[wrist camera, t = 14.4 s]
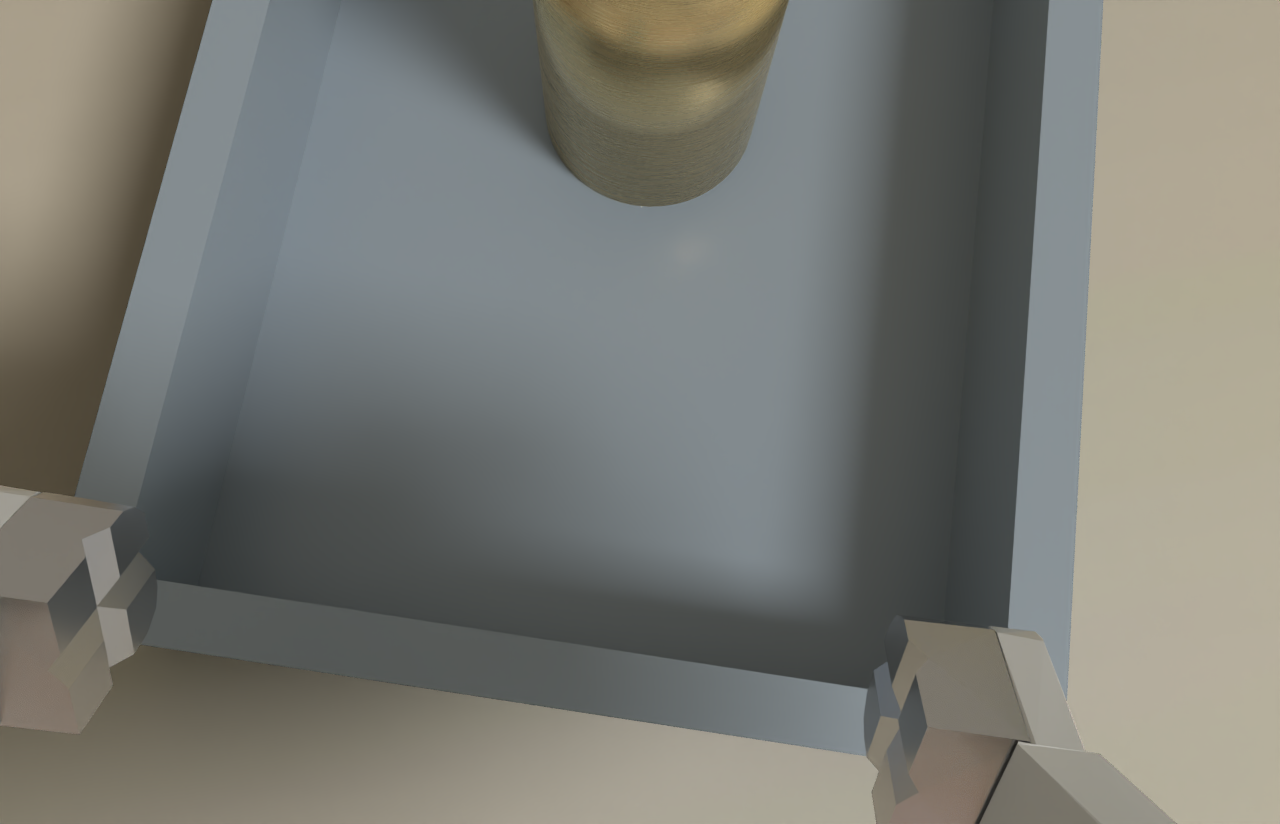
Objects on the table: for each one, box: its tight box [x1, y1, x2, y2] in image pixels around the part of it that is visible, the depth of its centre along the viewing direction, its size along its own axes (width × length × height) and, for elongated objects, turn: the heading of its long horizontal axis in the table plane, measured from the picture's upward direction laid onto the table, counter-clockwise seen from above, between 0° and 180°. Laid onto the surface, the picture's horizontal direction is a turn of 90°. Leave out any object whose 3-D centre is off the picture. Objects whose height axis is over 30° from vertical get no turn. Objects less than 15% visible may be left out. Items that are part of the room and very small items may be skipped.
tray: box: [74, 0, 1103, 756], centre depth 20 cm, size 22×16×4 cm
